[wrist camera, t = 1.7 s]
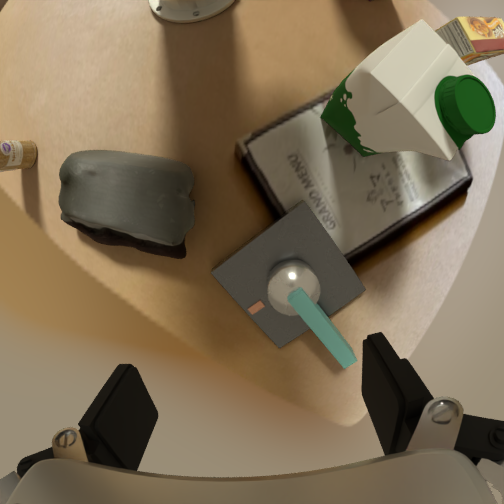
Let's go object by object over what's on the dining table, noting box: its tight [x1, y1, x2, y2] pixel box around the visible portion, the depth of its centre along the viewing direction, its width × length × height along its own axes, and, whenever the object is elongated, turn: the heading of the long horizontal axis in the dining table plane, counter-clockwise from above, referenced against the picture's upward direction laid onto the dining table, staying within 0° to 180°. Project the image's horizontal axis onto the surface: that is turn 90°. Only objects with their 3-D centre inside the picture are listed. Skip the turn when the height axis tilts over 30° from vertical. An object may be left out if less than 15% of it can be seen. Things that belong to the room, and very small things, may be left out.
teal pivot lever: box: [267, 260, 357, 369], centre depth 34 cm, size 6×16×4 cm, turn 38°
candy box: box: [435, 17, 504, 66], centre depth 20 cm, size 9×4×15 cm, turn 116°
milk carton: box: [321, 19, 496, 161], centre depth 21 cm, size 9×9×20 cm
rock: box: [59, 150, 195, 259], centre depth 31 cm, size 18×11×8 cm, turn 78°
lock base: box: [211, 200, 366, 348], centre depth 36 cm, size 14×14×2 cm
